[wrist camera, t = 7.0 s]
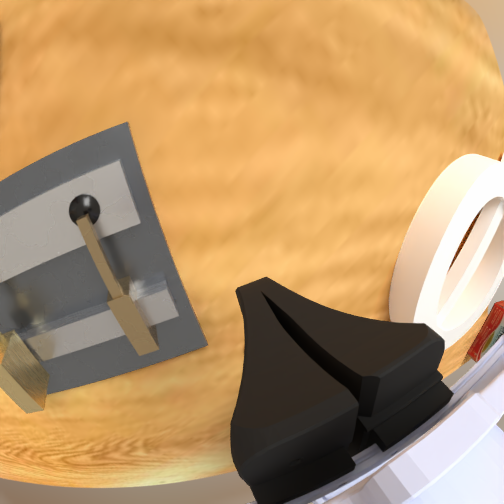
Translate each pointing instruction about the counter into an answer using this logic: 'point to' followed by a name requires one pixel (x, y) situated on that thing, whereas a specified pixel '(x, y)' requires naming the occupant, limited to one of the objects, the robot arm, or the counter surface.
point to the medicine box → (488, 332)
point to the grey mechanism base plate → (90, 265)
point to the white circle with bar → (452, 250)
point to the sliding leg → (22, 374)
